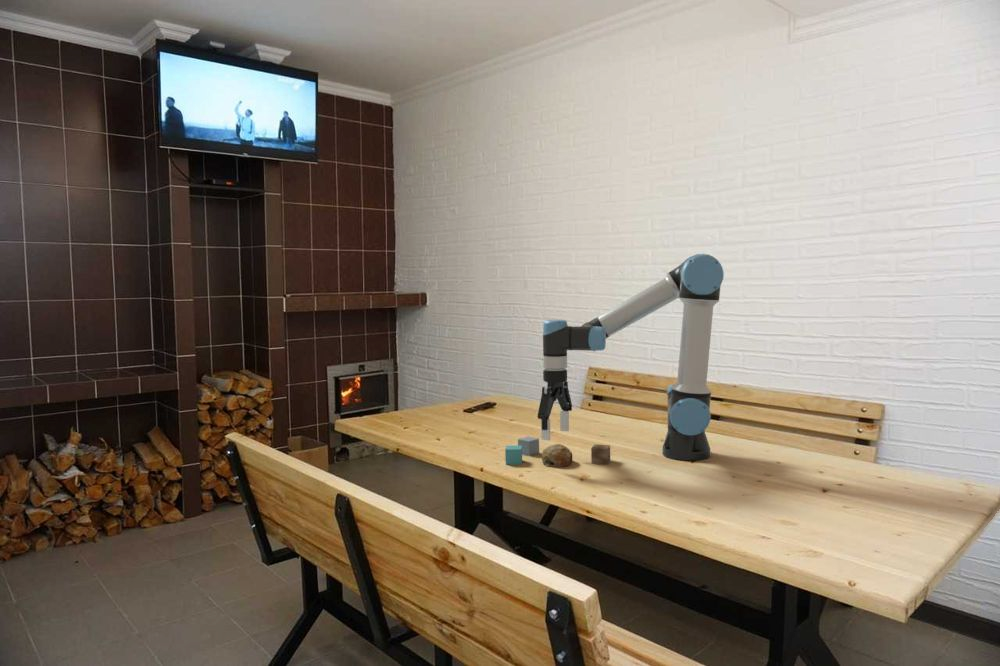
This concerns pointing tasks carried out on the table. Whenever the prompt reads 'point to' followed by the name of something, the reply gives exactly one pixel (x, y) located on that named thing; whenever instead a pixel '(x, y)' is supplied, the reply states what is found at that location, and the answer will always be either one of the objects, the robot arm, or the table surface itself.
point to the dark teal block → (513, 455)
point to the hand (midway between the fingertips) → (555, 435)
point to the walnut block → (600, 454)
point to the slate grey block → (529, 445)
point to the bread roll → (557, 456)
